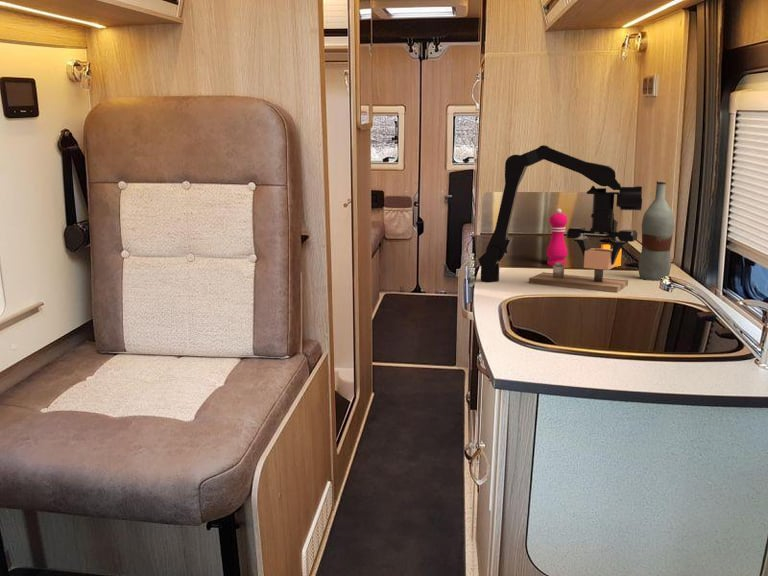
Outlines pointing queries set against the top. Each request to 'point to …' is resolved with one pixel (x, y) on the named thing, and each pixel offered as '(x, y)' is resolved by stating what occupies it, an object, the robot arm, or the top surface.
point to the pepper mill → (557, 239)
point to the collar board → (578, 280)
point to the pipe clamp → (618, 259)
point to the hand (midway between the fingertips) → (599, 263)
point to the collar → (598, 258)
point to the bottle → (656, 237)
